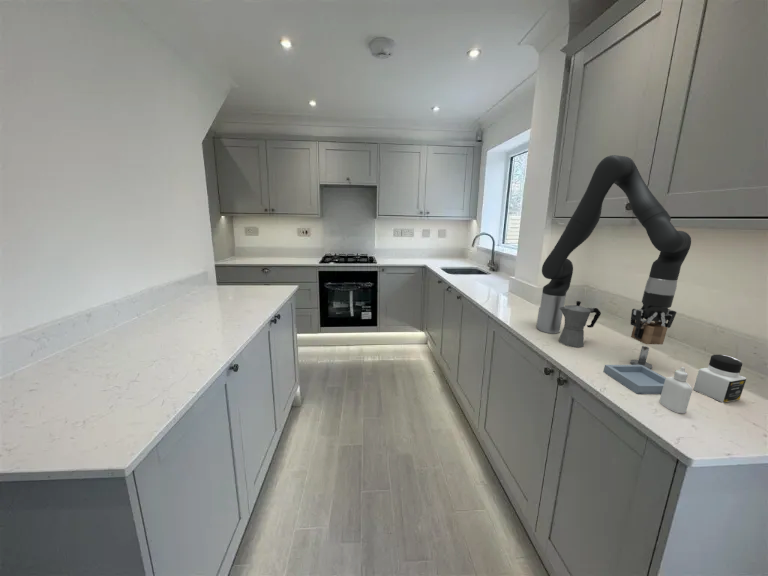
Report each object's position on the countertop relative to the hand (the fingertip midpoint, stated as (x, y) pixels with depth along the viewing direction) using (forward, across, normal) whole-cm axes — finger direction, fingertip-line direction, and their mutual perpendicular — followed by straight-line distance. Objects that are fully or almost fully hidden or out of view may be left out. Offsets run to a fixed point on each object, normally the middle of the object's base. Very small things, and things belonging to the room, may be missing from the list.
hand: (646, 338), depth 104 cm
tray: (+10, +11, +11) cm, 19 cm away
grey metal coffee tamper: (+10, 0, 0) cm, 10 cm away
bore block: (+1, 0, 0) cm, 1 cm away
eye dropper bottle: (+10, +14, +24) cm, 30 cm away
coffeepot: (+11, +11, -19) cm, 24 cm away
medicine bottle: (+10, -6, +18) cm, 22 cm away
